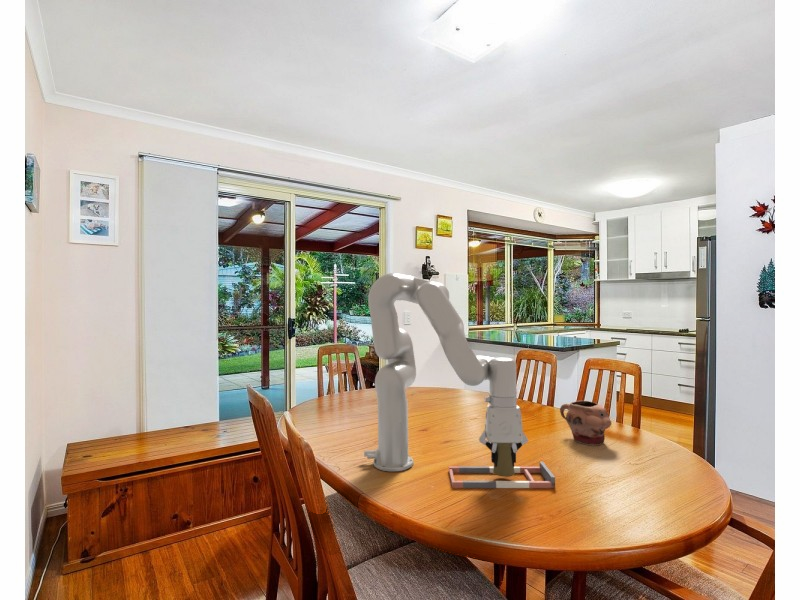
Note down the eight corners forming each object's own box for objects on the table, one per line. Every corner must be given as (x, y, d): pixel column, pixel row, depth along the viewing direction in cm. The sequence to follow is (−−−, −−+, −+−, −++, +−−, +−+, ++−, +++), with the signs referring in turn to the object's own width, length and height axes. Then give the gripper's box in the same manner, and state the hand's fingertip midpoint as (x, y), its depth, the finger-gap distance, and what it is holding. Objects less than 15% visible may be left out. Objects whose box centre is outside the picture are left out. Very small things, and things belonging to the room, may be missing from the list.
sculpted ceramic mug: (549, 437, 158) (549, 399, 158) (567, 430, 165) (567, 395, 165) (603, 452, 142) (602, 410, 142) (620, 444, 149) (620, 405, 149)
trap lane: (452, 487, 117) (452, 476, 117) (448, 471, 128) (448, 461, 128) (555, 488, 116) (555, 477, 116) (542, 471, 127) (542, 461, 127)
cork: (499, 477, 118) (499, 438, 118) (489, 469, 124) (489, 431, 124) (518, 475, 119) (518, 436, 119) (508, 467, 125) (507, 430, 125)
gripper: (475, 404, 118) (476, 470, 118) (536, 404, 117) (536, 470, 118) (471, 398, 126) (472, 460, 126) (529, 398, 125) (529, 460, 125)
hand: (503, 464), depth 122 cm, fingers closed on cork, 4 cm apart
